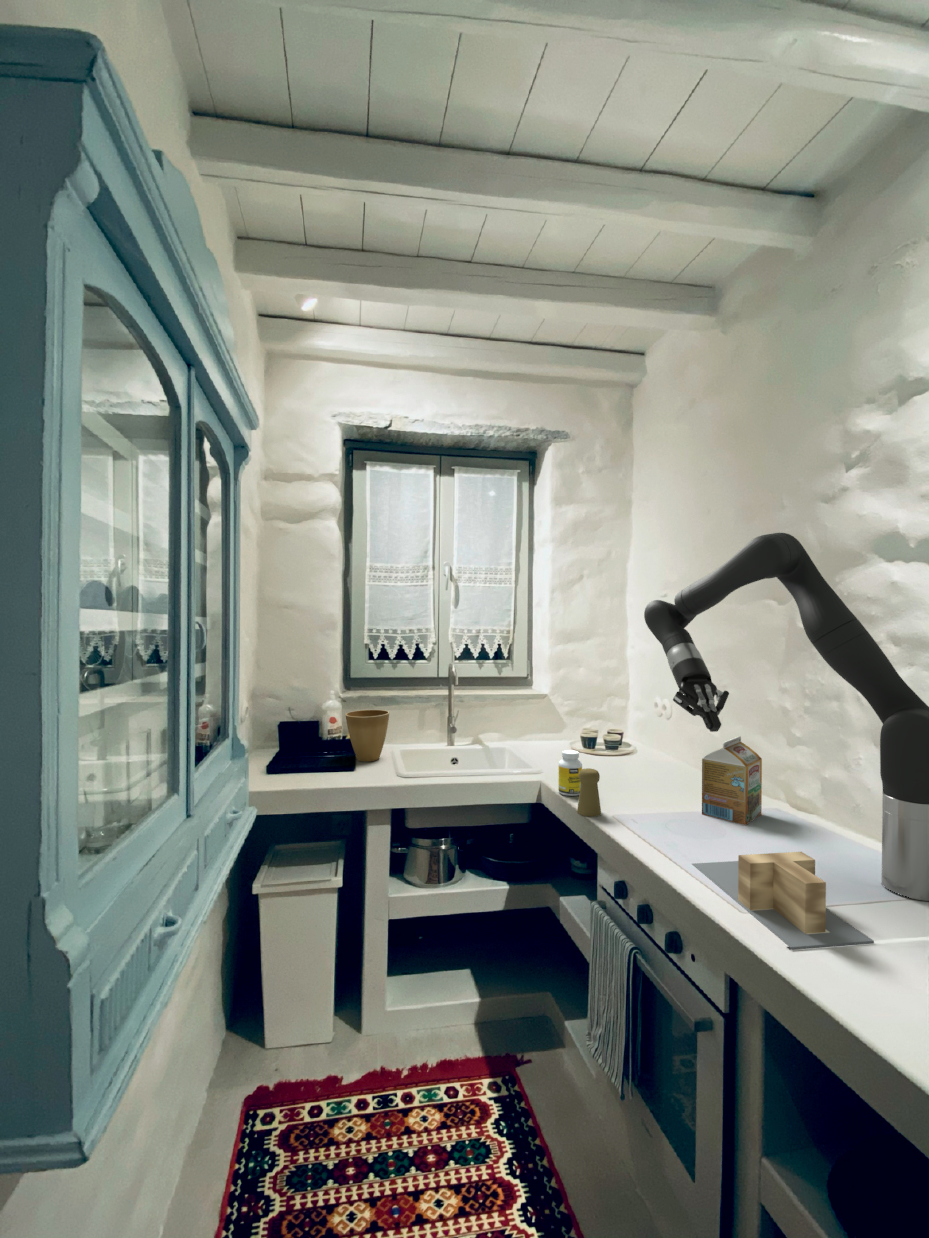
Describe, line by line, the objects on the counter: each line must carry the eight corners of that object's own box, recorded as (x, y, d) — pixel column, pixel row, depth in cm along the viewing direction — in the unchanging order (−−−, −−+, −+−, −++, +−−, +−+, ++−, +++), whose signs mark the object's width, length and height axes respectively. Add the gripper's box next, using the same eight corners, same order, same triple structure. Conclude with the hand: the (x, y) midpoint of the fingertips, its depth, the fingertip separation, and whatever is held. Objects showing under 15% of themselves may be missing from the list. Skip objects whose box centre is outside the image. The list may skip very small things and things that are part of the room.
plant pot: (391, 753, 214) (390, 708, 214) (387, 764, 200) (387, 716, 199) (348, 754, 214) (348, 709, 213) (342, 765, 199) (342, 716, 198)
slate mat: (756, 861, 123) (756, 859, 123) (873, 943, 93) (873, 940, 93) (691, 865, 121) (691, 863, 121) (790, 949, 91) (790, 947, 91)
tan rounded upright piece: (584, 806, 157) (584, 764, 157) (605, 811, 153) (605, 768, 153) (572, 813, 152) (572, 769, 152) (594, 818, 148) (594, 773, 148)
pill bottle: (563, 797, 165) (563, 755, 164) (555, 790, 171) (555, 749, 171) (585, 795, 166) (585, 754, 166) (576, 789, 172) (576, 748, 172)
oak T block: (801, 895, 107) (801, 851, 107) (849, 930, 96) (850, 880, 96) (738, 900, 106) (738, 855, 106) (780, 935, 94) (780, 885, 94)
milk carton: (719, 804, 158) (719, 732, 158) (761, 814, 151) (762, 739, 150) (701, 814, 151) (702, 739, 151) (745, 825, 143) (745, 746, 143)
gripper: (666, 656, 137) (692, 720, 125) (720, 656, 138) (752, 718, 127) (655, 677, 142) (680, 740, 130) (708, 676, 144) (737, 738, 132)
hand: (715, 729), depth 128 cm, fingers closed
